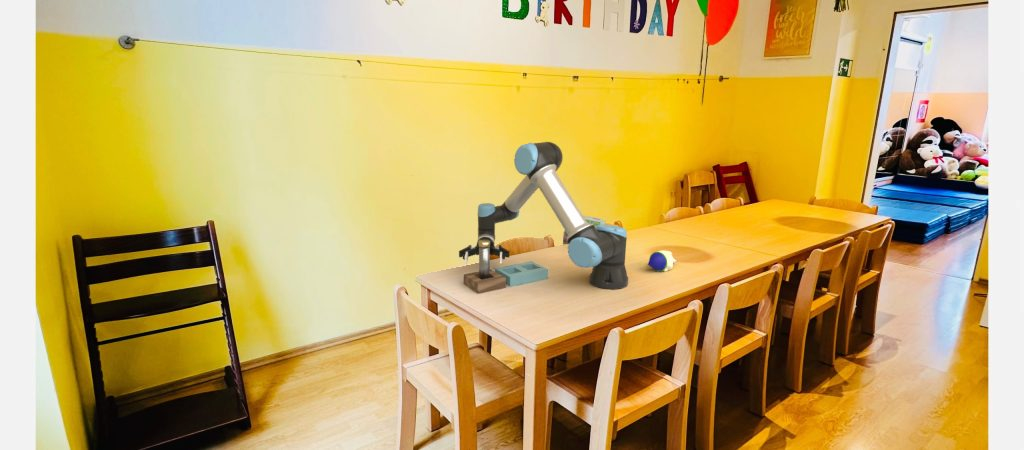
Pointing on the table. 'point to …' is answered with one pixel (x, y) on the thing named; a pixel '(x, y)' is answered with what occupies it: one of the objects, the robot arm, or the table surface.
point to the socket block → (484, 282)
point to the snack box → (591, 221)
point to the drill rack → (522, 273)
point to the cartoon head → (661, 260)
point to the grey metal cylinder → (484, 259)
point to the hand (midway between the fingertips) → (483, 260)
